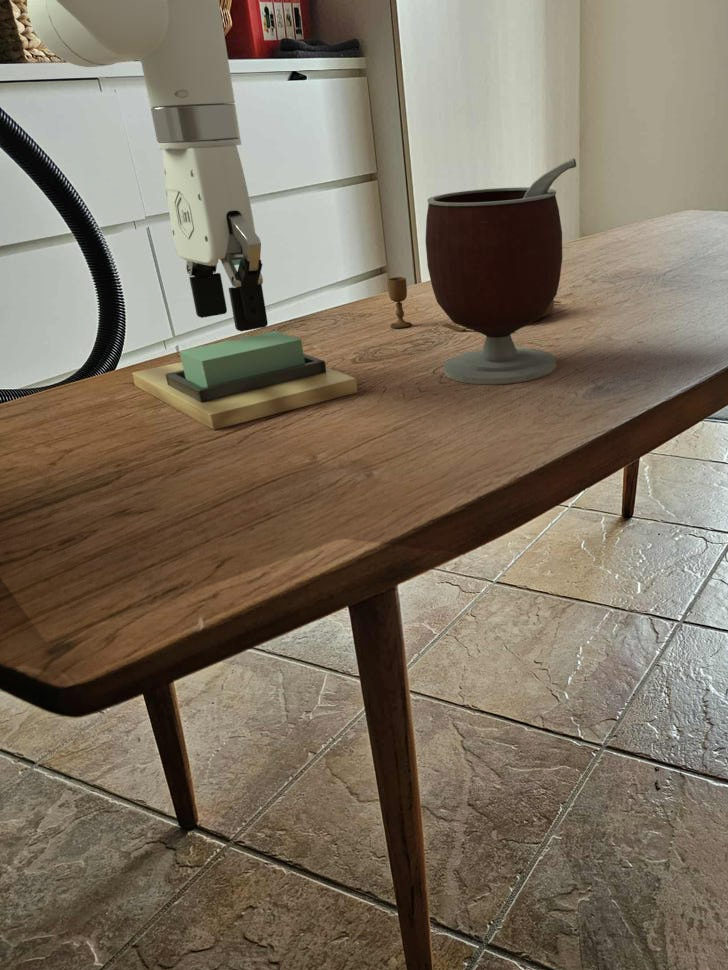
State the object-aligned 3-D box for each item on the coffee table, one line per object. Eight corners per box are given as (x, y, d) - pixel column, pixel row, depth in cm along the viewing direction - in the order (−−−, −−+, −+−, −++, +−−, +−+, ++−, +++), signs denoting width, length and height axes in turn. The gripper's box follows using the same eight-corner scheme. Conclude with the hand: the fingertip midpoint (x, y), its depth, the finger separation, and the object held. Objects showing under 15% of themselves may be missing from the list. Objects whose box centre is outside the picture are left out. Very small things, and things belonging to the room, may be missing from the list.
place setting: (529, 334, 110) (527, 283, 107) (385, 329, 117) (379, 281, 114) (571, 303, 124) (570, 257, 121) (439, 300, 131) (436, 257, 128)
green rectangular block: (209, 396, 90) (202, 361, 88) (187, 384, 94) (179, 351, 92) (306, 372, 96) (301, 339, 94) (281, 363, 100) (275, 330, 98)
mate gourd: (418, 384, 95) (397, 171, 84) (460, 350, 106) (447, 158, 95) (561, 389, 90) (558, 165, 80) (590, 353, 101) (591, 152, 91)
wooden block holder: (213, 430, 86) (207, 402, 84) (135, 386, 101) (128, 361, 99) (357, 392, 93) (354, 366, 92) (264, 356, 109) (260, 334, 107)
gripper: (125, 132, 87) (165, 316, 96) (194, 130, 75) (232, 341, 84) (199, 128, 91) (230, 305, 99) (276, 126, 79) (304, 328, 87)
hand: (231, 321), depth 92 cm, fingers open, 9 cm apart
